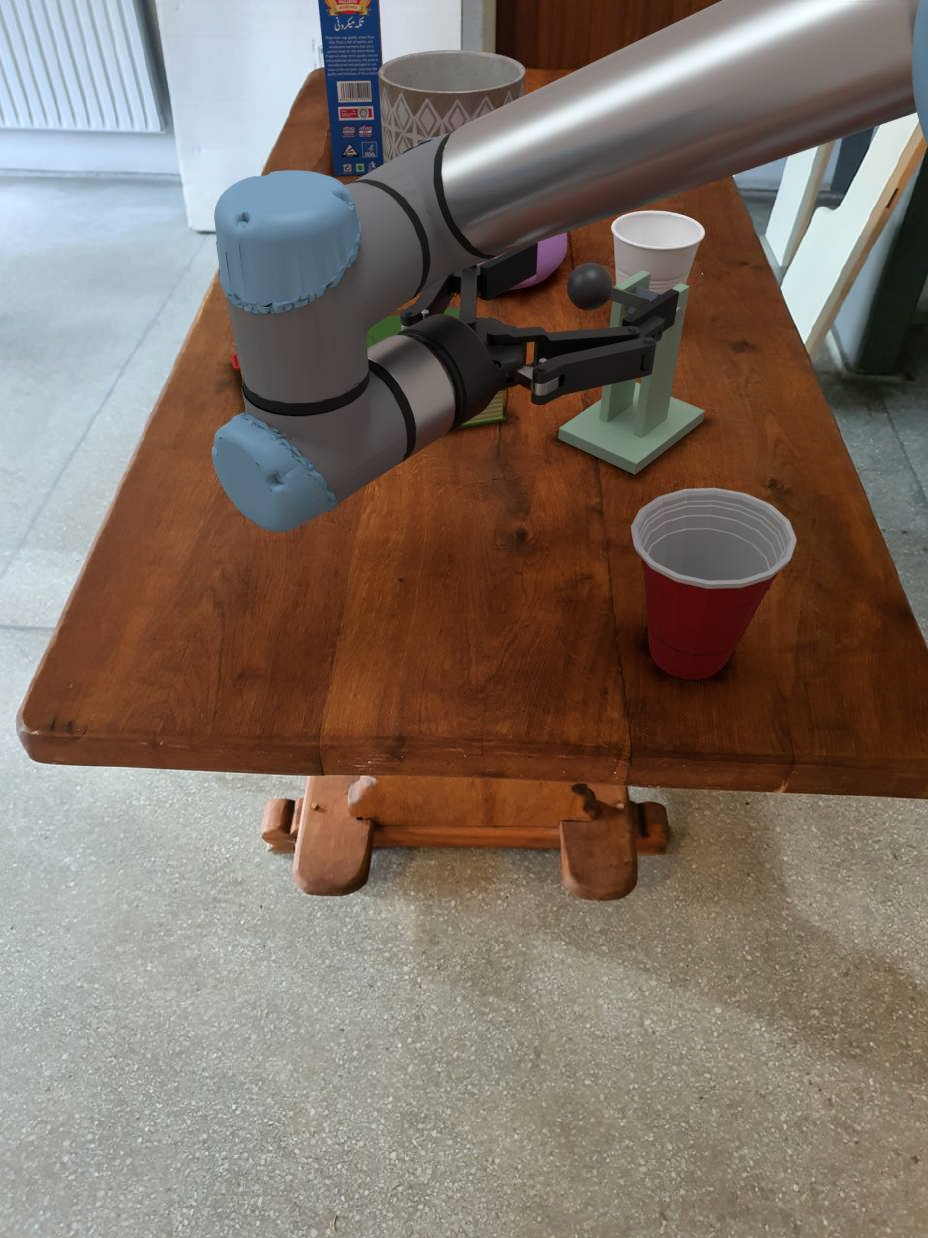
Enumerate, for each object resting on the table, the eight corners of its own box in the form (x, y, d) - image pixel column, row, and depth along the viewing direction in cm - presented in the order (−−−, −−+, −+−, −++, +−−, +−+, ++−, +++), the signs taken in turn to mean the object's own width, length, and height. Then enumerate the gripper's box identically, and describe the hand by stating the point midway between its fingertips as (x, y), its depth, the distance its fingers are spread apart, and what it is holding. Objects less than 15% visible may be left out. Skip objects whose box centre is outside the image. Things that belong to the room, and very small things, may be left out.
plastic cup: (653, 584, 77) (676, 462, 69) (780, 639, 72) (821, 515, 64) (586, 664, 71) (602, 540, 62) (720, 729, 66) (757, 606, 58)
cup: (694, 345, 105) (712, 247, 97) (605, 345, 105) (616, 247, 97) (681, 304, 112) (697, 209, 104) (597, 303, 112) (607, 209, 104)
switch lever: (589, 313, 73) (606, 266, 72) (552, 299, 75) (568, 253, 74) (665, 333, 85) (680, 293, 83) (631, 321, 86) (646, 281, 85)
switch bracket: (634, 475, 88) (657, 327, 77) (557, 439, 92) (569, 293, 82) (703, 421, 94) (732, 277, 84) (628, 389, 98) (647, 249, 88)
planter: (418, 235, 126) (413, 99, 115) (366, 186, 139) (356, 59, 127) (544, 210, 132) (552, 79, 121) (484, 165, 145) (485, 43, 133)
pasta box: (387, 173, 142) (375, -51, 123) (334, 175, 142) (313, -50, 122) (385, 114, 162) (374, -88, 143) (338, 115, 162) (321, -87, 142)
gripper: (304, 373, 73) (481, 280, 85) (562, 502, 61) (728, 374, 73) (291, 279, 68) (482, 194, 79) (571, 401, 56) (748, 281, 68)
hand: (600, 280), depth 76 cm, fingers open, 13 cm apart
